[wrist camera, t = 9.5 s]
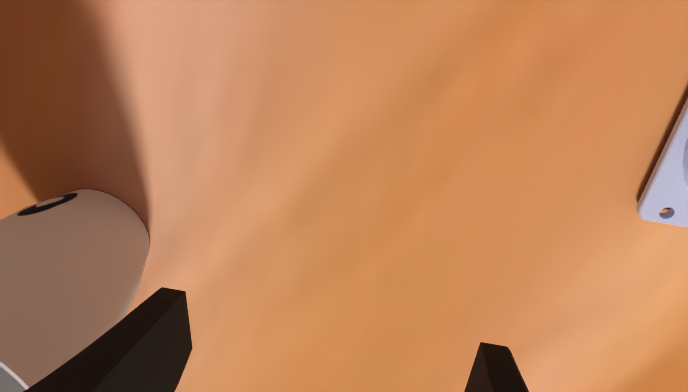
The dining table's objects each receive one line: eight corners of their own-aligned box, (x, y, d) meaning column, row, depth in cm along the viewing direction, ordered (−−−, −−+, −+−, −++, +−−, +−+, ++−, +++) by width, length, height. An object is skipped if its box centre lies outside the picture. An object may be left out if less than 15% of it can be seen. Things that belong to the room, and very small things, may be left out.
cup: (71, 129, 23) (-143, 270, 15) (208, 241, 25) (89, 419, 17) (7, 221, 27) (-190, 373, 19) (131, 311, 29) (3, 484, 21)
